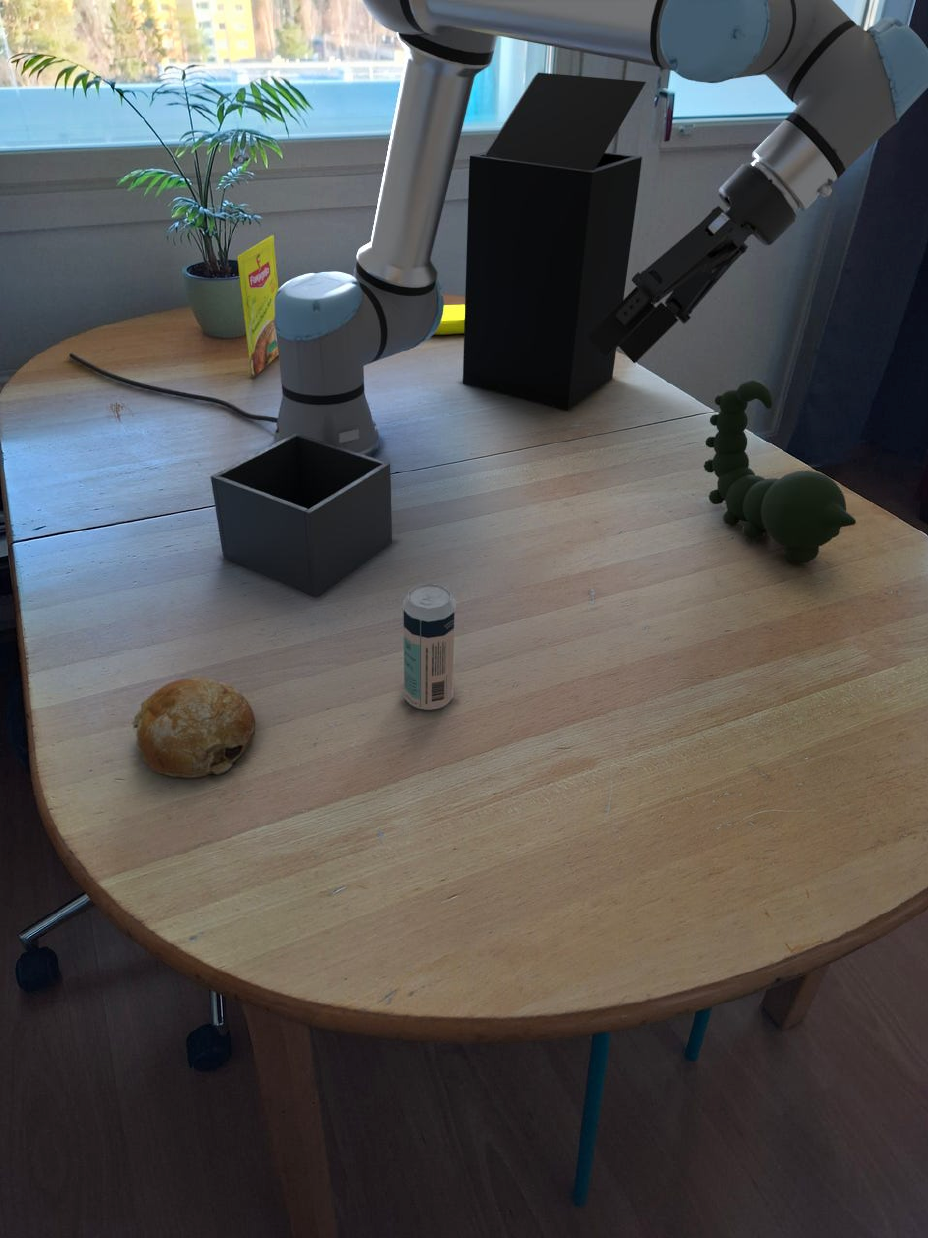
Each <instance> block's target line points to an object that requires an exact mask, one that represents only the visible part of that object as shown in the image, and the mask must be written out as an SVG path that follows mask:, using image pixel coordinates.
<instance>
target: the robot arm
mask: <svg viewBox="0 0 928 1238" xmlns="http://www.w3.org/2000/svg"><path fill="white" fill-rule="evenodd" d="M361 1H362V4H363V5H364V8H365V9H366V11H367V12H368V13H369V14H370V15H371V17H372V18H373V19H374V20H375V21H376V22H377V23H378V24H380V25H381V26H382V27H384V28H386V29H388V30H389V31H392V32H394V33H396V36H397V39H398V40H399V42H400V43H401V45H402V47H403V49H404V51H405V60H404V65H403V69H402V70H403V71H402V75H401V81H400V86H399V90H398V96H397V102H396V107H395V111H394V112H395V113H394V118H393V121H392V128H391V134H390V139H389V144H388V150H387V155H386V160H385V166H384V171H383V175H382V180H381V186H380V191H379V196H378V201H377V208H376V212H375V217H374V222H373V223H374V224H373V229H372V233H371V238H370V242H368V243H366V244H365V245H363V246H361V247H360V248H359V249H358V251H357V254H356V260H355V265H354V269H353V275H352V274H349V273H346V272H341V271H333V270H332V271H329V270H327V271H319V272H318V273H314V272H310V273H305V274H303V275H298V276H295V277H294V278H291V279H290V280H288V281H286V282H285V283H283V284H282V285H281V286H280V287H279V288H278V289H279V290H278V292H277V294H276V296H275V318H274V325H275V330H276V336H277V345H278V353H279V355H278V362H279V373H280V382H281V393H282V398H281V402H280V407H279V410H278V415H277V417H274V416H268V415H258V414H253V413H249V412H247V411H245V410H243V409H241V408H239V407H238V406H237V405H234V404H233V403H230V402H228V401H226V400H223V399H220V398H216V397H211V396H207V395H201V394H195V393H190V392H185V391H181V390H174V389H171V388H165V387H161V386H157V385H151V384H148V383H143V382H139V381H136V380H132V379H129V378H127V377H123V376H121V375H117V374H114V373H112V372H109V371H107V370H105V369H102V368H100V367H98V366H97V365H94V364H92V363H90V362H88V361H87V360H85V359H83V358H82V357H80V356H78V355H76V354H74V353H73V352H70V353H69V357H70V358H71V359H73V360H74V361H76V362H78V363H79V364H81V365H83V366H85V367H86V368H89V369H90V370H92V371H94V372H96V373H99V374H100V375H103V376H105V377H107V378H110V379H112V380H115V381H118V382H121V383H124V384H127V385H130V386H134V387H138V388H142V389H145V390H150V391H153V392H158V393H163V394H167V395H172V396H178V397H182V398H186V399H192V400H197V401H204V402H208V403H213V404H216V405H217V404H218V405H221V406H224V407H226V408H228V409H230V410H232V411H233V412H235V413H237V414H238V415H240V416H242V417H244V418H247V419H250V420H256V421H261V422H270V423H276V425H275V428H274V432H273V442H274V443H273V444H275V443H277V442H279V441H281V440H283V439H285V438H287V437H289V436H291V435H293V434H295V433H298V434H301V435H304V436H307V437H310V438H314V439H317V440H320V441H323V442H326V443H329V444H332V445H335V446H338V447H341V448H344V449H347V450H350V451H353V452H356V453H360V454H363V455H366V456H369V457H371V456H372V455H373V454H375V453H376V452H377V450H378V448H379V444H380V443H379V441H380V440H379V439H380V438H379V437H380V436H379V431H378V427H377V425H376V422H375V420H374V419H373V415H372V412H371V409H370V405H369V403H368V400H367V397H366V394H365V373H364V371H365V369H364V368H365V366H367V365H369V364H372V363H374V362H377V361H381V360H384V359H385V358H389V357H391V356H394V355H396V354H400V353H402V352H406V351H410V350H412V349H414V348H417V347H418V346H419V345H421V344H422V343H424V342H426V341H427V340H429V339H431V338H432V336H434V335H433V334H434V333H435V331H436V330H437V328H438V326H439V324H440V322H441V319H442V315H443V309H444V305H445V300H444V299H445V298H444V295H443V294H441V292H440V291H441V290H442V286H441V283H440V281H439V279H438V275H439V274H438V273H439V272H438V269H437V266H436V265H435V263H434V261H433V260H432V254H433V250H434V246H435V242H436V238H437V234H438V230H439V225H440V222H441V217H442V213H443V208H444V206H445V205H444V204H445V200H446V197H447V193H448V188H449V184H450V180H451V176H452V172H453V168H454V164H455V158H456V156H457V151H458V147H459V143H460V139H461V136H462V135H461V134H462V131H463V128H464V122H465V119H466V115H467V111H468V106H469V102H470V99H471V94H472V91H473V90H472V89H473V86H474V83H475V78H476V76H477V74H479V73H481V72H482V71H484V70H485V69H487V68H489V67H490V66H491V65H492V61H493V58H494V54H495V49H496V45H497V42H498V38H499V37H502V38H508V39H513V40H519V41H523V42H529V43H533V44H537V45H543V46H548V47H549V46H550V47H555V48H560V49H564V50H570V51H574V52H580V53H585V54H590V55H595V56H600V57H606V58H611V59H614V60H615V59H616V60H620V61H625V62H631V63H635V64H641V65H646V66H651V67H656V68H661V69H665V70H668V71H670V72H671V71H672V72H674V73H675V74H677V75H678V76H680V77H681V78H683V79H685V80H688V81H692V82H693V81H694V82H696V83H697V82H698V83H707V84H719V83H723V82H726V81H729V80H733V79H734V80H735V79H740V78H747V77H756V76H766V77H767V78H768V79H769V80H770V81H771V83H773V84H774V85H775V86H776V87H777V88H778V89H779V90H780V91H781V92H782V93H783V94H784V95H785V96H786V97H787V98H788V99H789V100H790V102H791V103H793V104H794V105H796V107H795V108H794V110H792V111H791V113H789V114H788V115H787V117H785V119H784V120H783V121H782V122H781V123H780V124H779V125H778V126H777V127H776V128H775V129H774V130H773V131H772V132H771V133H770V134H769V135H768V136H767V137H766V138H765V139H764V140H763V141H762V143H760V144H759V146H757V147H756V149H754V150H753V151H752V154H751V159H752V160H753V161H751V162H746V163H742V164H741V165H740V166H739V167H738V168H737V169H736V170H735V171H734V173H732V175H731V176H729V178H728V179H727V180H725V182H723V184H722V185H721V186H720V187H719V189H718V196H719V198H720V199H721V201H722V203H723V204H724V205H725V206H726V207H727V208H728V209H726V210H725V211H724V210H723V208H722V207H720V205H718V206H716V207H714V208H713V209H712V210H711V211H710V213H709V214H708V215H707V216H706V217H705V218H704V219H703V220H702V221H701V222H700V223H699V224H698V225H696V226H695V227H694V228H693V229H692V230H690V231H689V232H688V233H686V235H685V236H683V237H682V238H681V239H680V240H679V241H677V242H676V243H675V244H674V245H672V246H671V247H670V248H669V249H668V250H667V251H665V252H664V253H663V254H662V255H660V256H659V257H658V258H657V259H656V260H655V261H654V262H652V263H651V264H650V265H649V266H648V267H646V268H645V269H644V270H642V271H641V272H639V271H638V272H636V273H635V275H633V277H632V278H631V282H632V283H633V284H634V285H635V287H634V288H633V290H631V291H630V292H629V294H628V295H627V296H626V297H624V299H623V301H622V302H621V303H620V304H619V305H618V306H617V307H616V308H615V309H614V310H613V312H612V313H611V314H610V315H609V316H608V317H607V318H606V319H605V320H604V321H603V322H602V323H601V324H600V325H599V326H598V327H597V328H596V329H595V330H594V331H593V332H592V333H591V334H590V336H589V337H588V338H589V339H590V340H591V341H592V342H593V343H594V344H595V345H596V347H597V348H598V349H599V350H600V351H601V352H602V353H603V354H604V355H605V356H606V357H608V356H609V355H610V354H611V353H612V352H613V351H614V350H615V349H616V350H617V348H618V347H619V348H620V350H621V351H622V353H624V354H625V355H626V356H627V357H628V359H630V361H631V362H632V363H633V364H636V363H637V362H639V360H640V359H641V358H643V356H644V355H645V354H646V353H647V352H648V351H650V350H651V348H652V347H654V345H656V343H657V342H658V341H659V340H660V339H662V338H663V336H664V335H666V334H667V332H668V331H670V329H671V328H672V327H674V325H676V324H677V323H678V321H680V322H681V323H682V324H683V325H685V324H686V323H688V321H689V320H690V319H691V316H690V315H691V314H692V313H693V311H694V309H696V307H697V306H698V305H699V304H700V303H701V301H702V300H703V299H704V298H705V297H706V296H707V294H708V293H709V292H710V291H711V290H712V289H713V288H714V287H715V285H717V283H718V282H719V280H721V278H722V277H723V276H724V274H725V273H726V272H727V271H728V270H729V269H730V267H732V265H733V264H734V263H735V262H736V261H737V260H738V259H739V258H740V257H741V256H742V255H744V254H745V253H746V252H747V249H748V248H749V246H748V245H747V243H745V242H746V241H747V240H748V238H749V237H750V236H751V235H753V236H754V237H755V239H757V241H758V242H760V243H761V244H762V245H764V246H771V245H772V244H773V243H775V242H776V241H777V239H778V238H780V237H781V236H782V235H783V233H785V232H786V231H787V230H788V229H789V228H790V227H791V226H792V225H793V224H794V223H795V222H796V218H797V214H796V211H797V210H798V211H799V212H804V211H806V210H807V209H808V208H809V207H810V206H811V205H812V204H813V203H814V202H815V201H816V200H817V199H818V197H819V195H820V196H821V198H828V197H830V196H831V194H832V192H833V189H832V188H831V185H832V184H834V183H835V181H836V180H837V179H839V178H840V177H841V176H842V175H843V174H844V173H845V172H846V171H847V170H848V169H849V168H851V166H853V164H855V162H856V161H857V160H859V159H860V158H861V157H862V156H863V155H864V154H865V153H866V152H867V151H868V150H869V149H870V148H871V147H872V146H873V145H874V144H875V143H876V142H877V141H879V139H880V138H882V137H883V135H884V134H886V133H887V132H888V131H889V130H890V129H891V128H892V127H893V126H895V125H896V124H898V123H899V121H900V118H901V117H902V116H903V115H904V114H905V113H906V112H907V111H908V109H909V108H910V107H911V106H912V105H913V104H914V103H915V102H916V101H917V100H918V99H919V98H920V97H921V96H922V95H923V93H924V92H926V90H927V89H928V47H927V46H926V44H925V43H924V41H923V40H922V39H921V37H920V36H919V35H918V34H917V33H916V32H915V31H914V30H913V29H912V28H911V27H910V26H909V25H907V24H904V23H903V22H902V21H901V20H900V19H899V18H897V17H895V16H885V17H882V18H881V19H879V20H878V21H877V22H876V23H875V24H874V25H871V26H869V27H868V28H867V29H866V30H865V29H864V28H863V26H861V25H860V24H857V23H856V22H855V21H854V20H853V19H852V18H851V17H850V16H849V15H847V13H846V12H845V11H844V10H843V9H842V8H841V7H840V6H839V5H838V4H837V3H836V2H835V1H834V0H361ZM668 295H669V296H668ZM666 296H668V297H667V298H666V299H665V302H662V301H661V300H663V299H664V298H665V297H666ZM657 303H658V304H657ZM655 304H657V305H655Z"/></svg>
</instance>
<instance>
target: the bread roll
mask: <svg viewBox="0 0 928 1238" xmlns="http://www.w3.org/2000/svg"><path fill="white" fill-rule="evenodd" d="M140 706H141V707H140V711H138V712H137V713H136V714H135V715H134V719H133V721H132V726H133V729H134V730H135V729H137V730H136V734H135V735H136V738H137V739H136V746H137V747H138V749H139V751H140V754H141V756H142V757H143V762H145V763H146V764H147V765H148V766H149V767H150V768H151V769H152V770H153V771H155V772H157V773H158V774H164V775H166V776H169V777H172V778H173V777H178V778H179V777H180V778H193V779H194V778H201V777H205V776H209V775H211V774H214V775H217V776H219V775H221V774H223V773H226V772H228V770H229V769H230V768H231V767H232V766H233V763H234V762H236V760H238V758H240V756H241V755H242V754H243V753H244V752H245V750H246V748H248V746H250V744H251V742H252V741H253V739H254V737H255V735H256V734H255V733H256V718H255V714H254V711H253V709H252V706H251V705H250V703H249V701H248V700H247V698H246V697H245V696H244V695H243V694H242V693H241V692H240V691H239V690H238V689H236V688H235V687H233V686H231V685H229V684H228V683H226V682H222V681H220V680H216V679H212V678H205V677H189V678H182V679H178V680H174V681H172V682H169V683H167V684H165V685H163V686H162V687H160V688H158V689H157V690H155V691H154V692H153V693H152V694H151V695H150V696H149V697H148V698H146V699H145V700H143V701H142V702H141V703H140Z"/></svg>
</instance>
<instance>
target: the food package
mask: <svg viewBox="0 0 928 1238" xmlns="http://www.w3.org/2000/svg"><path fill="white" fill-rule="evenodd" d="M275 247H276V246H275V236H274V234H271V235H270V236H268V237H266V238H265V239H263V240H262V241H260V242H258V243H257V244H255V245H253V246H251V247H250V248H248V249H247V250H245V251H243V252H242V253H240V254H238V255H237V256H236V258H237V267H238V278H239V285H240V292H241V293H240V294H241V302H242V310H243V311H242V313H243V318H244V328H245V337H246V345H247V353H248V361H249V362H248V363H249V371H250V376H251V377H250V378H251V379H253V378H255V377H256V376H257V375H258V374H259V373H261V371H262V370H264V369H265V368H266V367H267V366H268V365H269V364H271V362H272V361H273V360H274V359H276V358H277V357H279V353H278V345H277V336H276V330H275V325H274V318H275V296H276V294H277V292H278V290H279V289H280V288H279V281H278V280H279V278H278V268H277V261H276V260H277V259H276V258H277V257H276V248H275Z"/></svg>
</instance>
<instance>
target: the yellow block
mask: <svg viewBox="0 0 928 1238" xmlns="http://www.w3.org/2000/svg"><path fill="white" fill-rule="evenodd" d="M464 323H465V304H444V309H443V315H442V319H441V322H440V324H439V326H438V328H437V330H436V331H435V333H434V334H433V335H432V336H448V335H461V334H462V335H464Z"/></svg>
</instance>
